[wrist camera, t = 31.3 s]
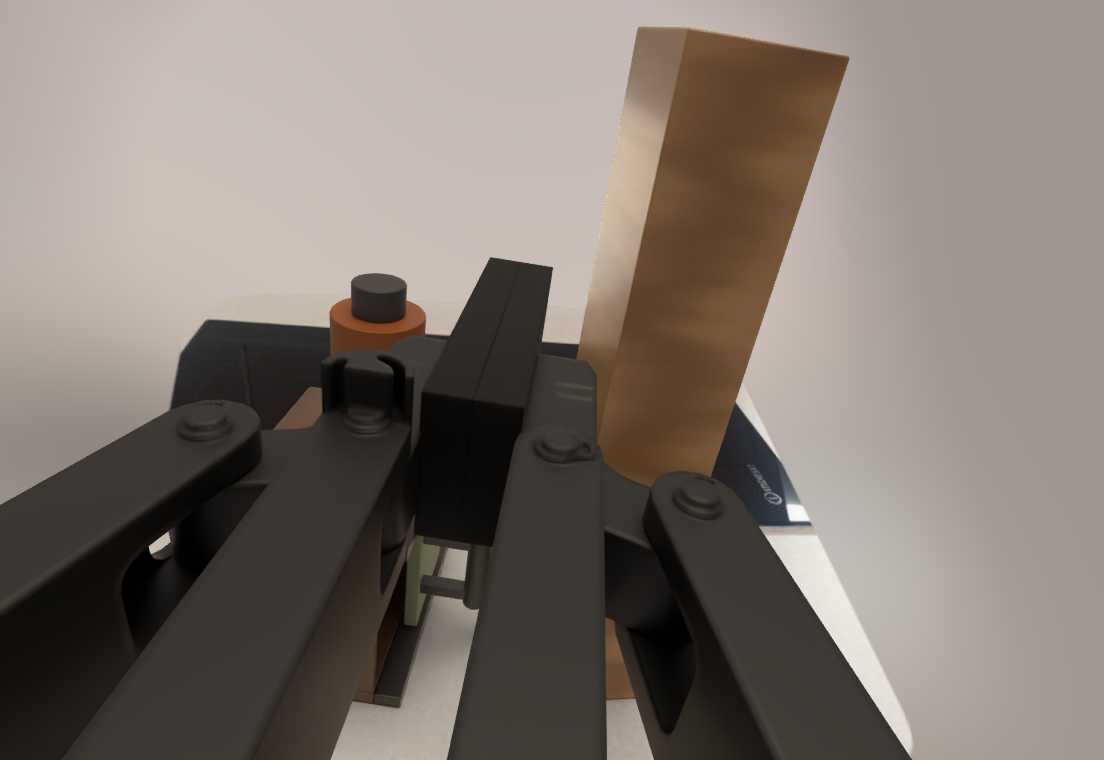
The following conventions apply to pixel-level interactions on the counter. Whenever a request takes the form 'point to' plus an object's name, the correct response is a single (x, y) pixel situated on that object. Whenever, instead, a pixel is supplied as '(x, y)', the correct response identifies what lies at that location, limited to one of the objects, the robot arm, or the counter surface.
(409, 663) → the cabinet
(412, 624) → the sliding door
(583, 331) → the stand
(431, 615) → the counter surface
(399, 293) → the amber bottle
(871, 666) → the counter surface
